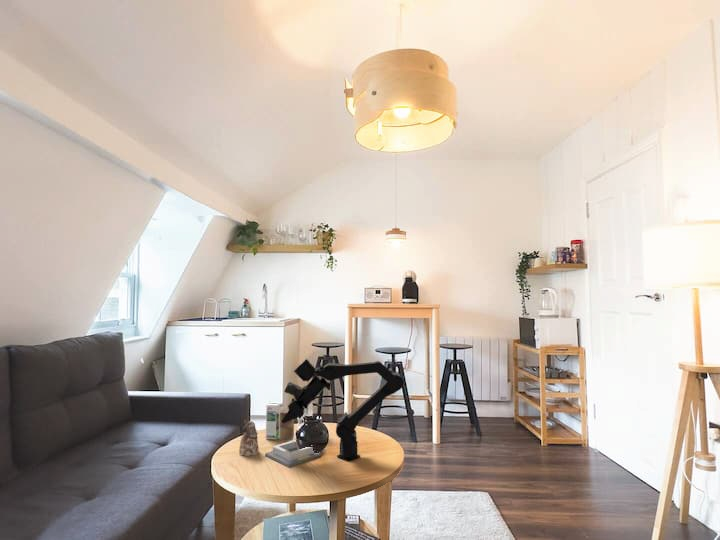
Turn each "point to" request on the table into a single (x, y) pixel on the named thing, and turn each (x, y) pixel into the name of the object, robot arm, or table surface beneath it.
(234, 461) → the table surface
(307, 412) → the beer glass
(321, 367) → the robot arm
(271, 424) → the syrup box
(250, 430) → the figurine
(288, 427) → the walnut peg block
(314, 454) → the socket board
